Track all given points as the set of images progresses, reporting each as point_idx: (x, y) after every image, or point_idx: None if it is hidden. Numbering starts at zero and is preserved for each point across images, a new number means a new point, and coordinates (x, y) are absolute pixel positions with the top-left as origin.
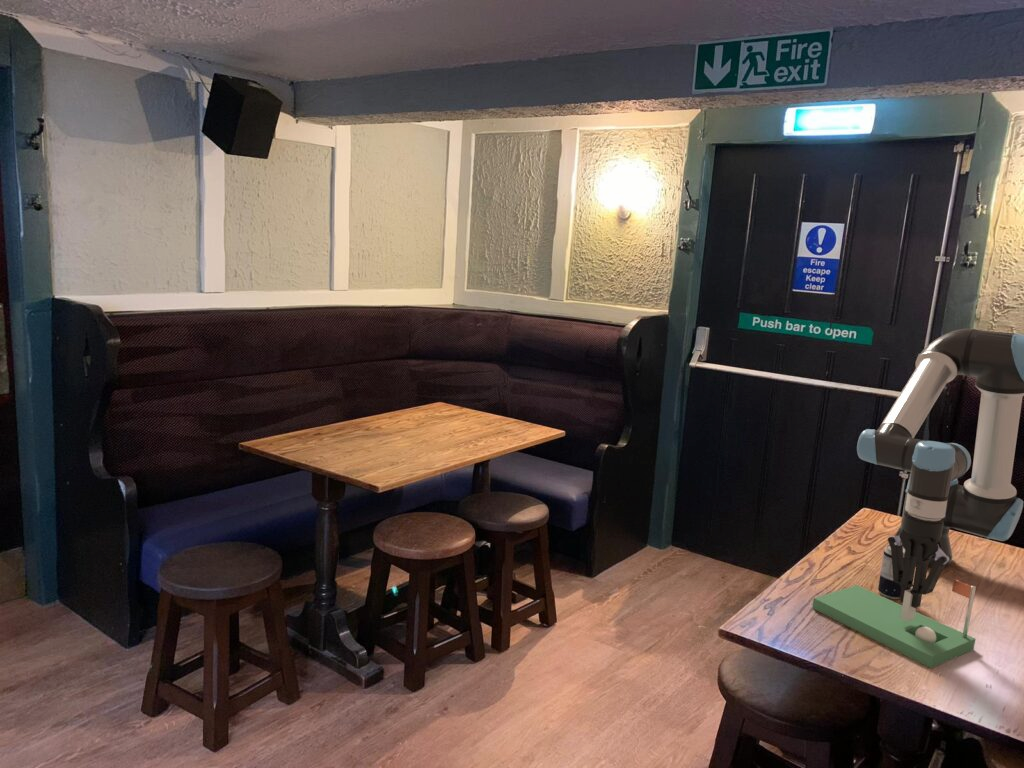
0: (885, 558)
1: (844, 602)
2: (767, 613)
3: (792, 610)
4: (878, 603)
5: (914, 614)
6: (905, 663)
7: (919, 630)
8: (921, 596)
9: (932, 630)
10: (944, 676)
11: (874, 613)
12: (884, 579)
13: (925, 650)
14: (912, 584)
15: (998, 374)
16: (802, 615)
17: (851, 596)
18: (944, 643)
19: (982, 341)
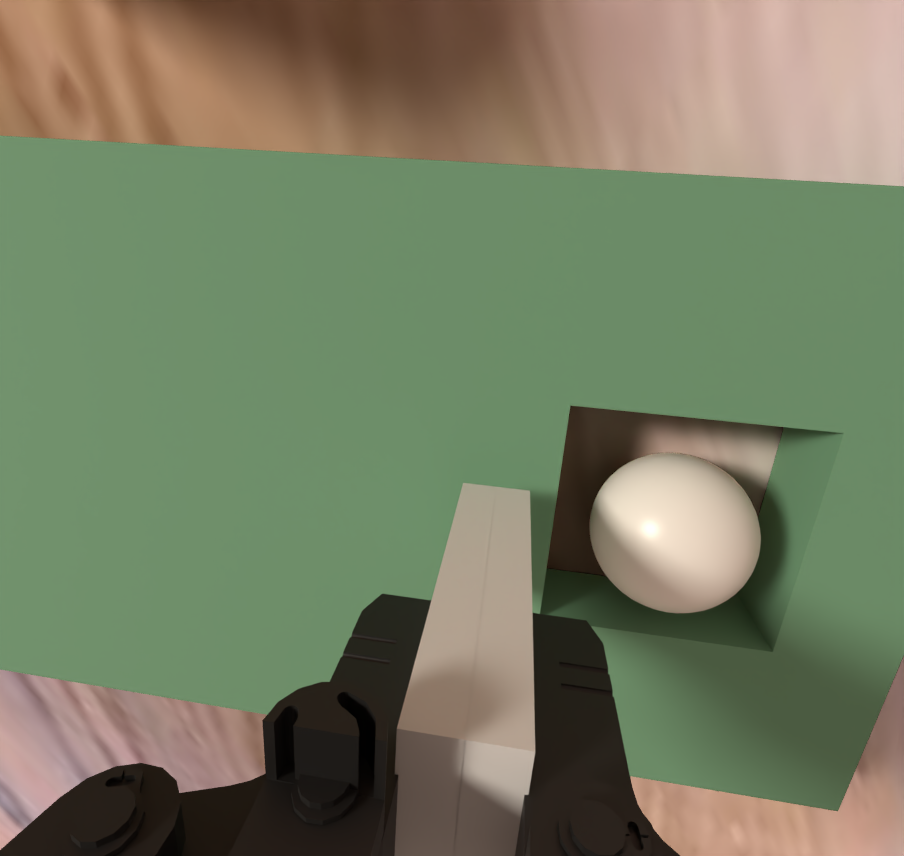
0: None
1: (54, 557)
2: (11, 818)
3: (14, 712)
4: (147, 333)
5: (530, 519)
6: (666, 782)
7: (639, 598)
8: (626, 773)
9: (736, 549)
10: (889, 759)
11: (259, 541)
12: None
13: (770, 772)
14: (379, 825)
15: None
16: (72, 721)
17: None
18: (848, 567)
19: None
